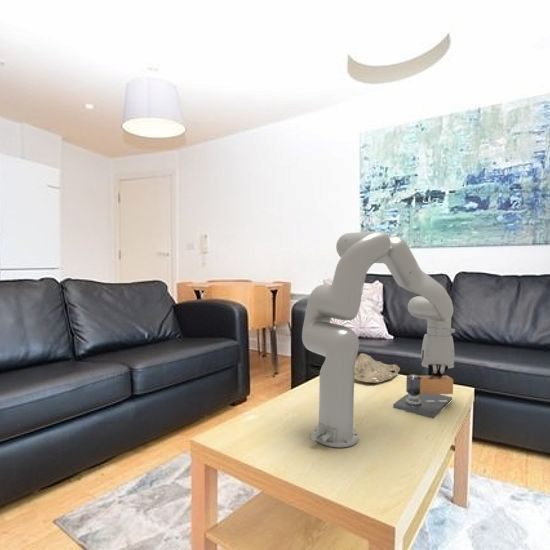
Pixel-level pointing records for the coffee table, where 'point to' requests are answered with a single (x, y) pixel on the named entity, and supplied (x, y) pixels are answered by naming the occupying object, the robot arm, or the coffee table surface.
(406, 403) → the post base
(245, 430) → the coffee table surface
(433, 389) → the orange boxy piece
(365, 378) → the stone
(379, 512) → the coffee table surface
